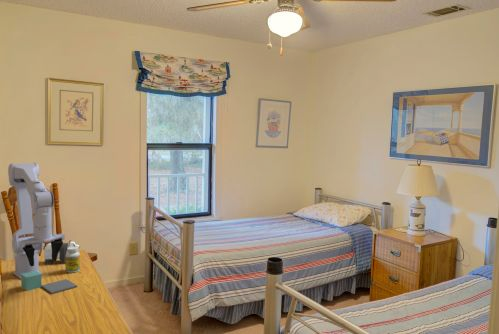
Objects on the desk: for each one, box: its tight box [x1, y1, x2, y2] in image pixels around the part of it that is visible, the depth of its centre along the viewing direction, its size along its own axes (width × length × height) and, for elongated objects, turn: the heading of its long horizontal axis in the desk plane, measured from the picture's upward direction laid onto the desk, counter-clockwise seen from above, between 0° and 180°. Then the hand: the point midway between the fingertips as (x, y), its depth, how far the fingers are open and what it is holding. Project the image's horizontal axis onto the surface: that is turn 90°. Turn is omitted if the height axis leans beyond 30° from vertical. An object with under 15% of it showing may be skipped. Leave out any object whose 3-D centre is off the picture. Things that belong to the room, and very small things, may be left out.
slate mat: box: [40, 278, 78, 295], centre depth 145 cm, size 9×9×1 cm
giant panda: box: [42, 239, 81, 265], centre depth 171 cm, size 15×6×10 cm, turn 105°
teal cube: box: [20, 271, 42, 292], centre depth 144 cm, size 5×5×5 cm
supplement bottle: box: [65, 247, 81, 274], centre depth 161 cm, size 5×5×10 cm
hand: (43, 262), depth 140 cm, fingers open, 7 cm apart
